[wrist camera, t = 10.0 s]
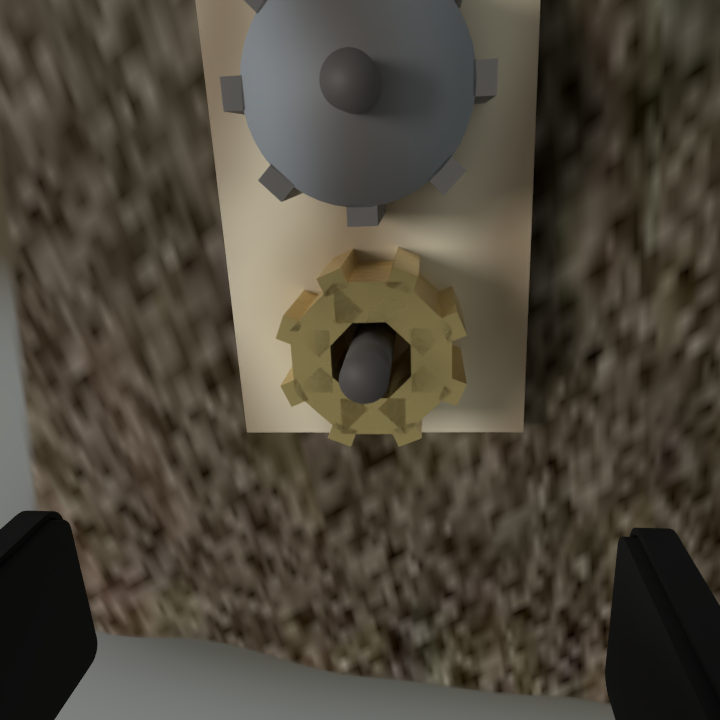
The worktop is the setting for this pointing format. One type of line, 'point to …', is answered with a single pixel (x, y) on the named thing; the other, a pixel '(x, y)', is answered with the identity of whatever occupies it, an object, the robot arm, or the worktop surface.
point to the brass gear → (371, 305)
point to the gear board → (415, 224)
